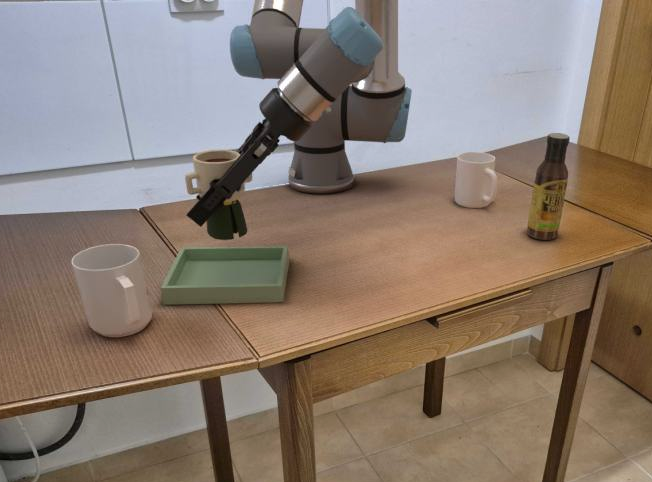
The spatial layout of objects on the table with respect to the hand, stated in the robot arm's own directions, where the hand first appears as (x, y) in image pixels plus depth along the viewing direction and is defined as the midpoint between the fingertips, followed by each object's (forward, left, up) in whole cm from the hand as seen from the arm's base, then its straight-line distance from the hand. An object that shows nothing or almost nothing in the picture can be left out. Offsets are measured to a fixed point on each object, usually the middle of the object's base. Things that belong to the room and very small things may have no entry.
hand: (198, 211), depth 102 cm
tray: (0, +3, -13) cm, 13 cm away
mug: (+15, -10, -13) cm, 22 cm away
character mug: (0, +4, -5) cm, 6 cm away
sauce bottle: (-18, +62, -13) cm, 66 cm away
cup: (-36, +52, -13) cm, 65 cm away
